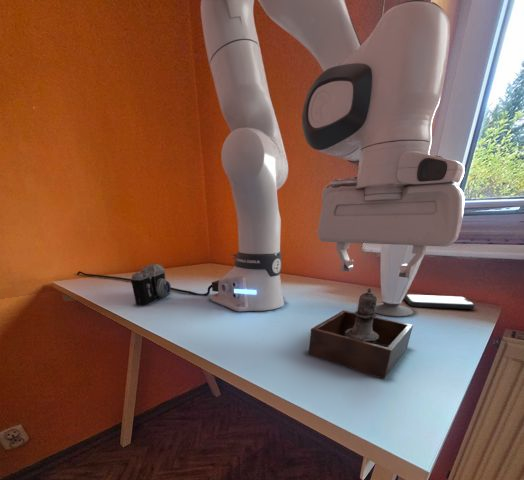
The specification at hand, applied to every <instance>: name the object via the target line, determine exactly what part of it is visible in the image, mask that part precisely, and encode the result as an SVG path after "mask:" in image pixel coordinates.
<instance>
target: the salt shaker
mask: <svg viewBox="0 0 524 480" xmlns="http://www.w3.org/2000/svg"><path fill="white" fill-rule="evenodd" d="M377 301H378V298H377V296H376V295H375V294H374V293H372V288H371V287H369V288H368V289H367V292H365V293H362V294H361V295H360V296H359V299H358V305H357V311H355V312H354V313H355V315H356V320H355V324H354V327H353V328H351V329H348V330H346V331H345V334H344V336H346V337H350V338H354V339H357V340H361V341H365V342H369V343H373V344H376V343H375V342H376V340H377V339H378V338H379V335H378V334H377V333H376V332H374V331H373V330H372V324H373V319H374V317H377V313H374V311H375V306H376V303H377Z"/></svg>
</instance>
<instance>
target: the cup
mask: <svg viewBox="0 0 524 480" xmlns="http://www.w3.org/2000/svg"><path fill="white" fill-rule="evenodd" d="M428 247H429V246H427V248H426V250H428ZM412 249H413V245H393V244H380V261H379V262H380V266H379V267H380V269H379V273H380V274H379V275H380V293H381V301H382V302H376V306H375V311H374V313H375V314H376V315H377V314H378V315H381V316H386V317H395V318H397V317H398V318H402V317H410V316H412V315H413V314H414V310H413V309H412V308H410V307H407V306H405V305H402V301H403V300H404V299H405V295H407V293H408V291H409V290H410V288H411V285H412V283H413V281H414V279H415V277H416V275H417V274H418V270H419V268H420V266H421V263H422V261H423V259H424V257H425V254H424V255H423V256H422V257H421V258H420V259H419V261H418V262H417V263H416V264H415V265H414V268H413V272H412V276H411V277H410V278H407V277H399V273H400V272H401V271H400V267H401V265H403V264H408V263H409V262H410V261H411V260H412V258H413V257H414V256H415V255H416V254H412Z"/></svg>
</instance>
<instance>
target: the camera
mask: <svg viewBox="0 0 524 480" xmlns="http://www.w3.org/2000/svg"><path fill="white" fill-rule="evenodd" d="M130 279H131V281H130V283H131V286H132V292H133V296H134V301H135V306H137V307H147V306H149V305H150V304H152V303H155V302H156V301H158V300H160V299H162V298H166V297H167V296H169V295H170V294H171V291H172V290H171V288H172V287H171V283H170V282H169V281H168V280H167V279H166V274H165V267H164V266H163V265H162V264H158V263H150V264H148V265H145V266H144V267H143V268H142V269H141V270H140V271H139V272H138V271H137V272H135V273H134V274H132V275H131V278H130Z"/></svg>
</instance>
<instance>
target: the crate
mask: <svg viewBox="0 0 524 480" xmlns="http://www.w3.org/2000/svg"><path fill="white" fill-rule="evenodd" d="M355 320H356V315H355V312H353V311H348V310H341V311H339V312H338V313H336V314H334V315H333V316H331V317H329V318H327V319H326V320H324V321H322V322H321V323H319V324H317V325H315V326H314V327H312V328H311V329H310V334H309V335H310V336H309V349H308V354H309V355H311V356H314V357H317V358H321V359H323V360H327V361H329V362H333V363H335V364H338V365H341V366H345V367H347V368H351V369H353V370H355V371H356V370H357V371H359V372H363V373H366V374H368V375H371V376H375V377H377V378H381V379H386V378H387V376H388V375H389V374H390V372H391V371H392V370H393V368H394V367H395V366H396V364H397V363H398V362H399V360H400V359H401V357H403V355H404V354H405V353H406V351H407V349H408V346H409V342H410V338H411V334H412V332H413V328H414V324H410V323H406V322H401V321H396V320H392V319H388V318H382V317H377V316H376V317H374V319H373V324H372V330H373V331H374V332H376V333H377V334H378V335H379V338H378V339H377V340H376V342H375V344H373V343H369V342H365V341H361V340H357V339H354V338H350V337H346V335H345V331H346V330H348V329H351V328H353V327H354V324H355Z"/></svg>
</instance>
